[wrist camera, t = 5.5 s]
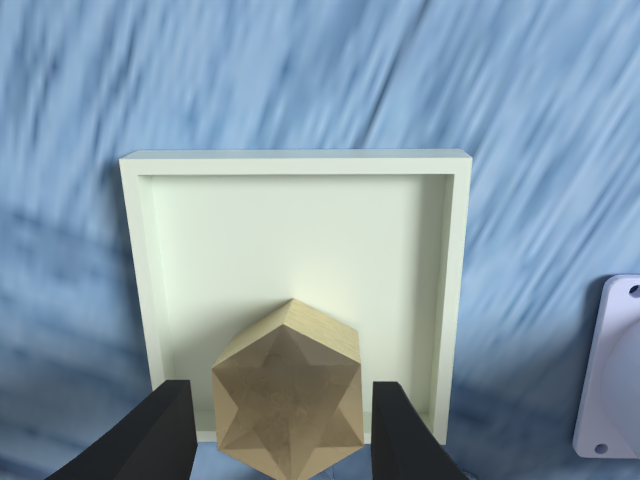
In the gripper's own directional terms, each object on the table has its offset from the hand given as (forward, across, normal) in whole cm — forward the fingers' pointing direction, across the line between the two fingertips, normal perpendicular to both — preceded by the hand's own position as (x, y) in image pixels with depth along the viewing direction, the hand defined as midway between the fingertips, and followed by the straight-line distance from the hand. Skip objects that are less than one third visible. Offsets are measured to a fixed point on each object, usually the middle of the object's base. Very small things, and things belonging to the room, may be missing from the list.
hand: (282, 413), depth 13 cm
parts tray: (+7, 0, 0) cm, 7 cm away
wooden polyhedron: (+6, 0, +2) cm, 6 cm away
